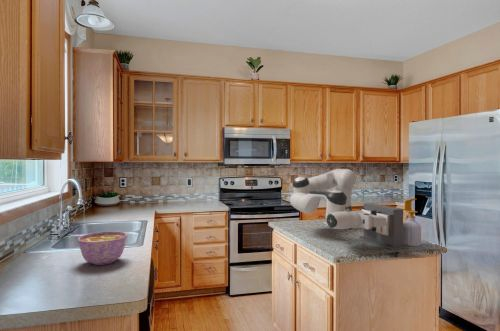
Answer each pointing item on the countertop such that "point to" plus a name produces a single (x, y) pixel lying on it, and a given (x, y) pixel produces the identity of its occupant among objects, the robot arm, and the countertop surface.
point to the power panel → (395, 227)
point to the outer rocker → (385, 228)
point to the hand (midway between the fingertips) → (381, 217)
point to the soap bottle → (411, 227)
